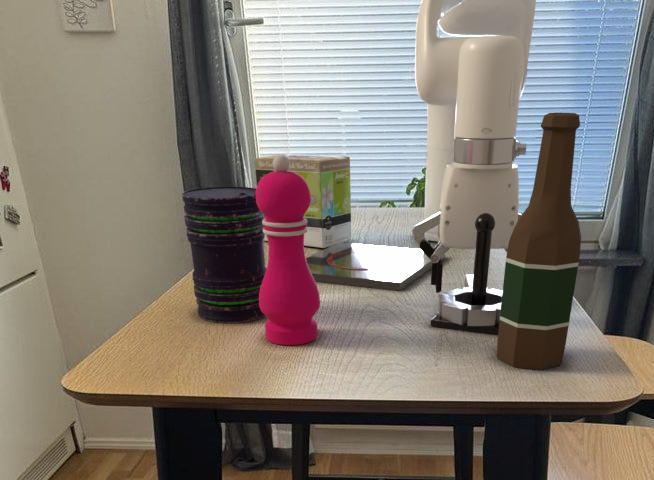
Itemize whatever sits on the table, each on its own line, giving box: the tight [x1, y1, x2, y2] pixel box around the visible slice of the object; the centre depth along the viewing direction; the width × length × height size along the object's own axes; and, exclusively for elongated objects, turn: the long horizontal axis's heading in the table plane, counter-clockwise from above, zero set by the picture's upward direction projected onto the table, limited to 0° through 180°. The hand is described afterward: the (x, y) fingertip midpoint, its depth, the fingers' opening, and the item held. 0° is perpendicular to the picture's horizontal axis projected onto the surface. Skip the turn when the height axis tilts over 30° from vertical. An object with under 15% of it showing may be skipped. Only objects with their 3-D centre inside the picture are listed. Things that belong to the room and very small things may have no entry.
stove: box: [306, 242, 446, 292], centre depth 110 cm, size 22×20×1 cm
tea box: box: [254, 153, 352, 249], centre depth 125 cm, size 15×10×15 cm, turn 58°
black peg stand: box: [429, 213, 499, 336], centre depth 83 cm, size 10×10×13 cm
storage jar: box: [181, 186, 267, 324], centre depth 86 cm, size 10×10×15 cm
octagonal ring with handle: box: [437, 274, 503, 326], centre depth 88 cm, size 17×10×2 cm, turn 177°
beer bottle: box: [496, 112, 582, 371], centre depth 68 cm, size 8×8×24 cm
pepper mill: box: [256, 154, 321, 346], centre depth 76 cm, size 7×7×20 cm
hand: (472, 290), depth 93 cm, fingers open, 9 cm apart
